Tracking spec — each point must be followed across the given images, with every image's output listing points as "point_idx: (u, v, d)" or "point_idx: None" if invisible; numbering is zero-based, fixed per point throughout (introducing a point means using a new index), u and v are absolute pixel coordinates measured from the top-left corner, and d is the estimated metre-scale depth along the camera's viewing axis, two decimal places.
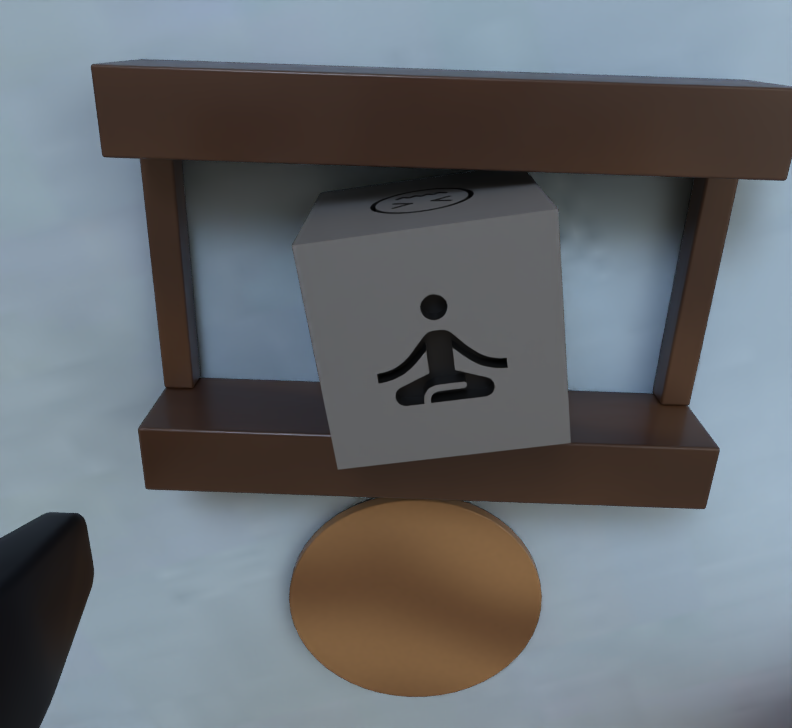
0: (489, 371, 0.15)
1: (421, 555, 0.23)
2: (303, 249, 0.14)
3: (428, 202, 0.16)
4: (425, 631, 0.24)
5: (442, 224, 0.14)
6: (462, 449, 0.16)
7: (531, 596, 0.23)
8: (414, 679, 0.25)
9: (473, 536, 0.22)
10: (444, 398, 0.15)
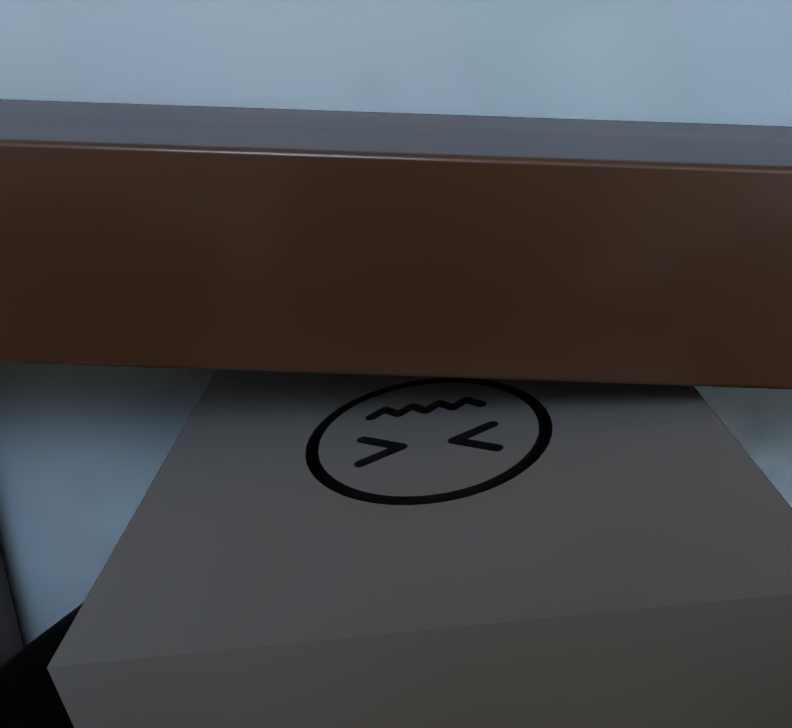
0: None
1: None
2: (81, 678, 0.05)
3: (444, 450, 0.06)
4: None
5: (492, 622, 0.05)
6: None
7: None
8: None
9: None
10: None
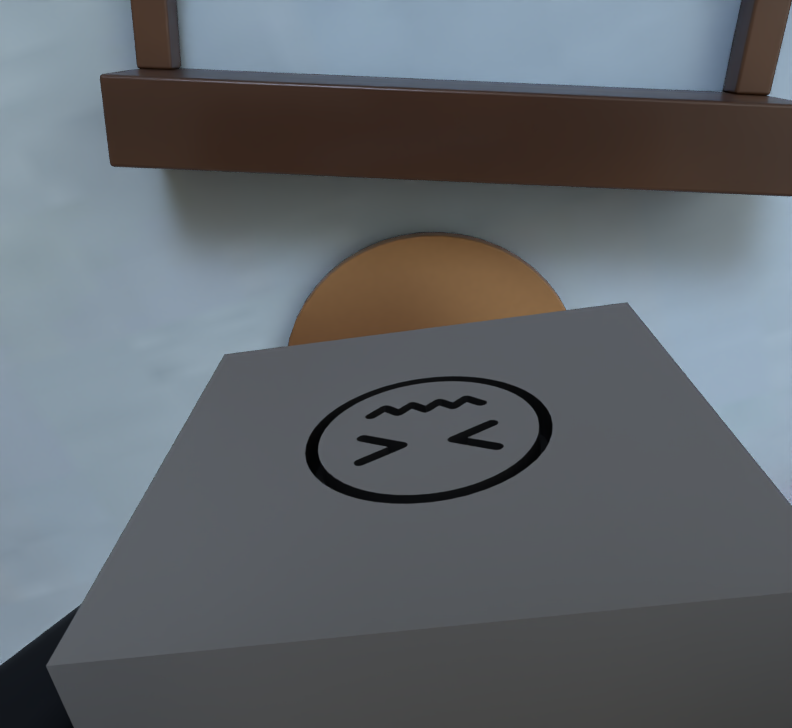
0: None
1: (440, 312, 0.19)
2: (81, 676, 0.05)
3: (444, 449, 0.06)
4: None
5: (492, 622, 0.04)
6: None
7: None
8: None
9: (503, 285, 0.19)
10: None
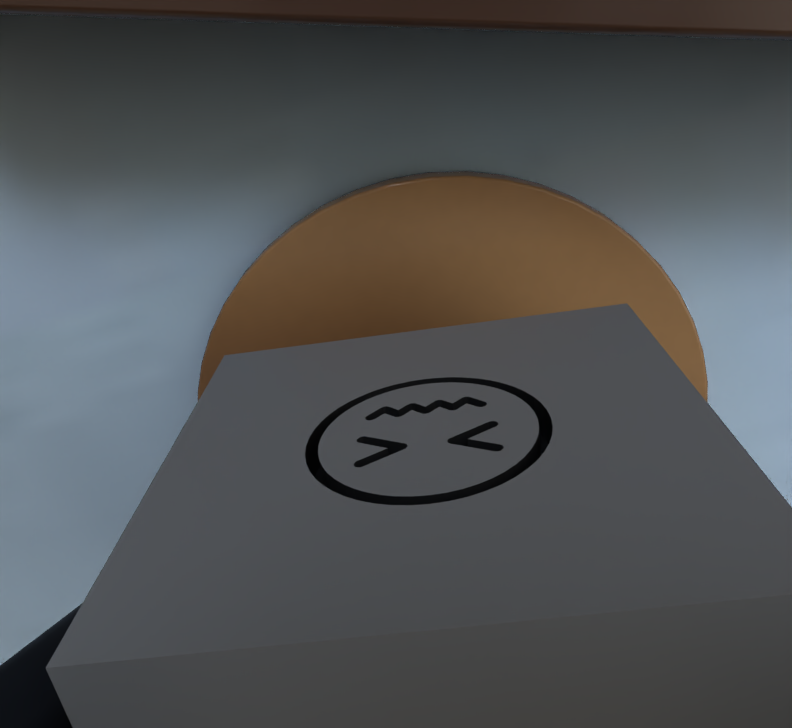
0: None
1: (465, 315, 0.11)
2: (81, 678, 0.05)
3: (444, 450, 0.06)
4: None
5: (492, 624, 0.04)
6: None
7: None
8: None
9: (578, 267, 0.10)
10: None
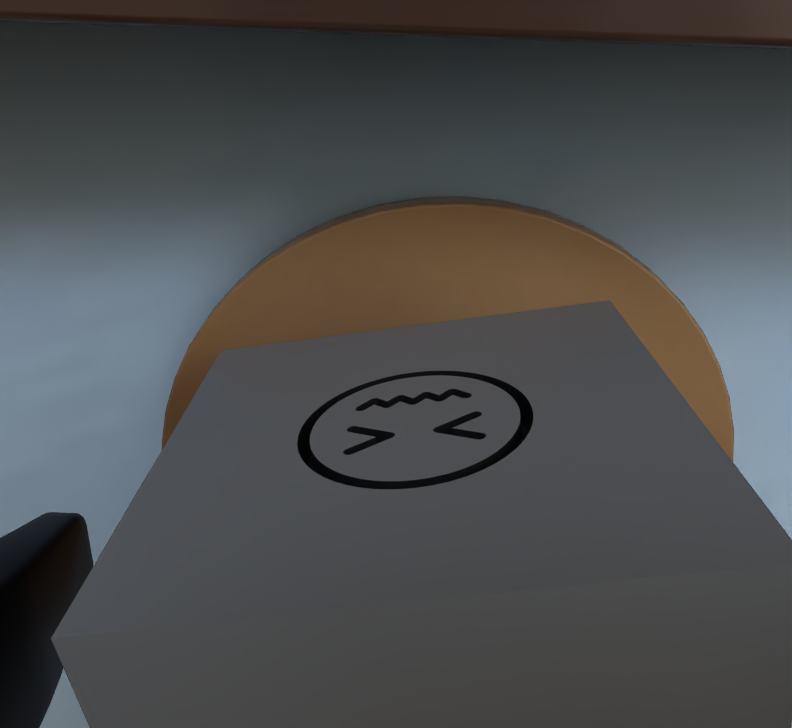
0: None
1: None
2: (85, 648, 0.05)
3: (429, 439, 0.07)
4: None
5: (469, 595, 0.05)
6: None
7: None
8: None
9: None
10: None
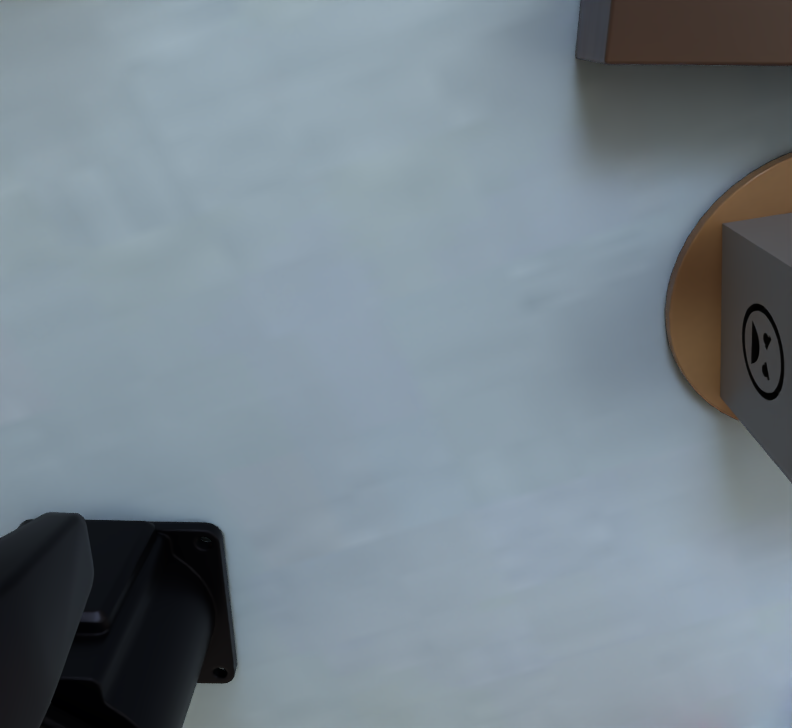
0: None
1: None
2: None
3: None
4: None
5: None
6: None
7: None
8: None
9: None
10: None
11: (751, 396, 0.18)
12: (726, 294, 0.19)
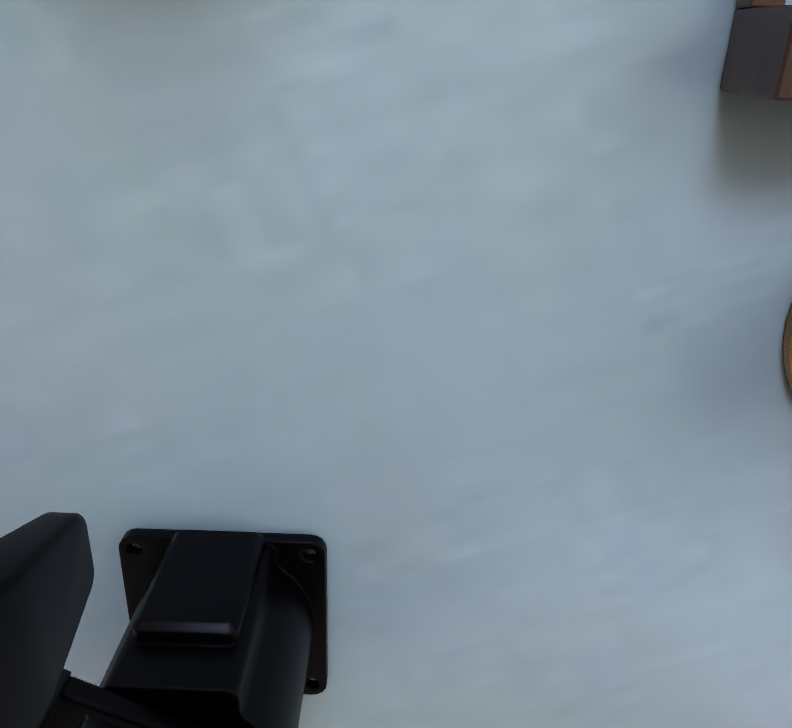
0: None
1: None
2: None
3: None
4: None
5: None
6: None
7: None
8: None
9: None
10: None
11: None
12: None
